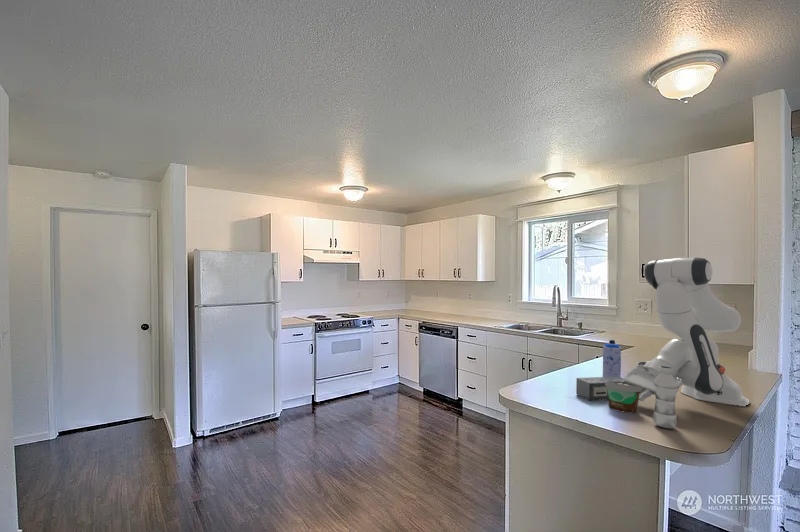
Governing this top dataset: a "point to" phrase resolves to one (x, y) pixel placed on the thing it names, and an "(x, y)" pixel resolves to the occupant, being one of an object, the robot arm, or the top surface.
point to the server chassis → (595, 387)
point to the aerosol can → (611, 360)
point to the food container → (623, 396)
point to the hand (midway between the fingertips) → (637, 399)
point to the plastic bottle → (665, 398)
